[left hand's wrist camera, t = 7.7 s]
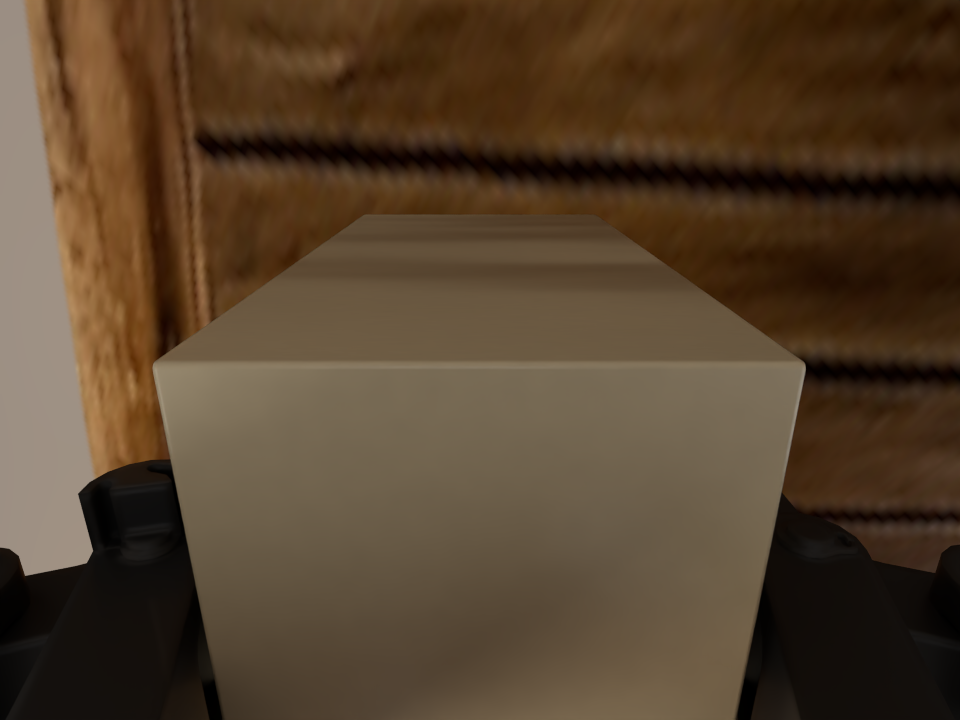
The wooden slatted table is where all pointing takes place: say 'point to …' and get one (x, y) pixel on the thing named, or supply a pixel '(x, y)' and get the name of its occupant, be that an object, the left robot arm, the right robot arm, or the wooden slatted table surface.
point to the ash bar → (479, 478)
